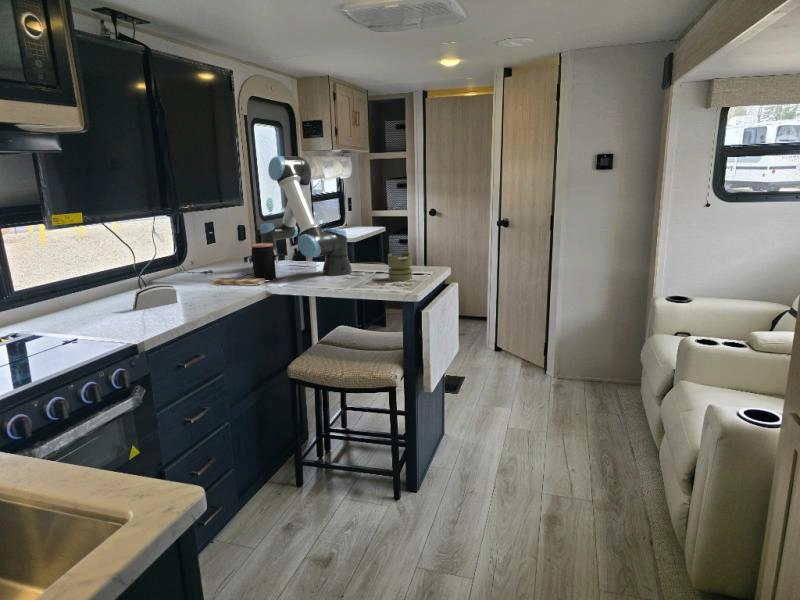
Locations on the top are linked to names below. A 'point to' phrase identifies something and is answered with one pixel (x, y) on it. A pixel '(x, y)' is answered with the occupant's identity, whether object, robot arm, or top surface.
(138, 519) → the top surface
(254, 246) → the coffee jar
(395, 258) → the piston
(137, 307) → the beige arched block
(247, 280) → the oak board
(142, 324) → the top surface
